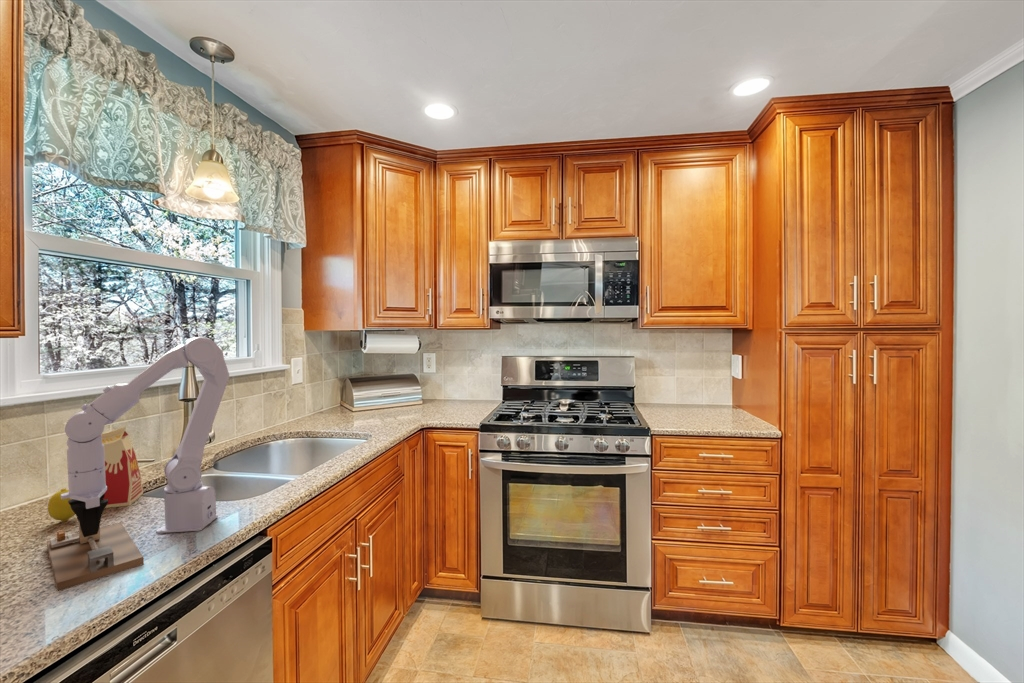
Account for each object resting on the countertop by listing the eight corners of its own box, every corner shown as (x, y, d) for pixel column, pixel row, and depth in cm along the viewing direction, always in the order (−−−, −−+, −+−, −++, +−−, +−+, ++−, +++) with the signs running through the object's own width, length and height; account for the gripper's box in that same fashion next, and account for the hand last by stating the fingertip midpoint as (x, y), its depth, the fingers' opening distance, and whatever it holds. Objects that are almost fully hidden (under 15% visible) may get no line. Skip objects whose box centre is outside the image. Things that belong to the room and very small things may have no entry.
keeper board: (47, 548, 97) (46, 528, 96) (121, 528, 105) (120, 511, 105) (57, 591, 81) (56, 568, 80) (143, 564, 90) (142, 543, 89)
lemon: (60, 527, 106) (59, 493, 106) (42, 525, 108) (40, 492, 107) (87, 517, 112) (85, 485, 112) (69, 516, 113) (67, 484, 113)
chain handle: (50, 541, 96) (49, 517, 95) (95, 530, 101) (94, 506, 101) (58, 572, 83) (56, 544, 83) (109, 557, 89) (108, 531, 89)
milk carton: (143, 493, 128) (140, 422, 127) (131, 505, 120) (128, 429, 119) (101, 498, 124) (98, 425, 124) (86, 511, 116) (83, 432, 115)
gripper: (56, 466, 98) (59, 529, 98) (63, 481, 88) (66, 551, 89) (100, 459, 103) (103, 518, 103) (112, 472, 93) (114, 538, 94)
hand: (89, 532), depth 96 cm, fingers closed on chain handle, 2 cm apart
